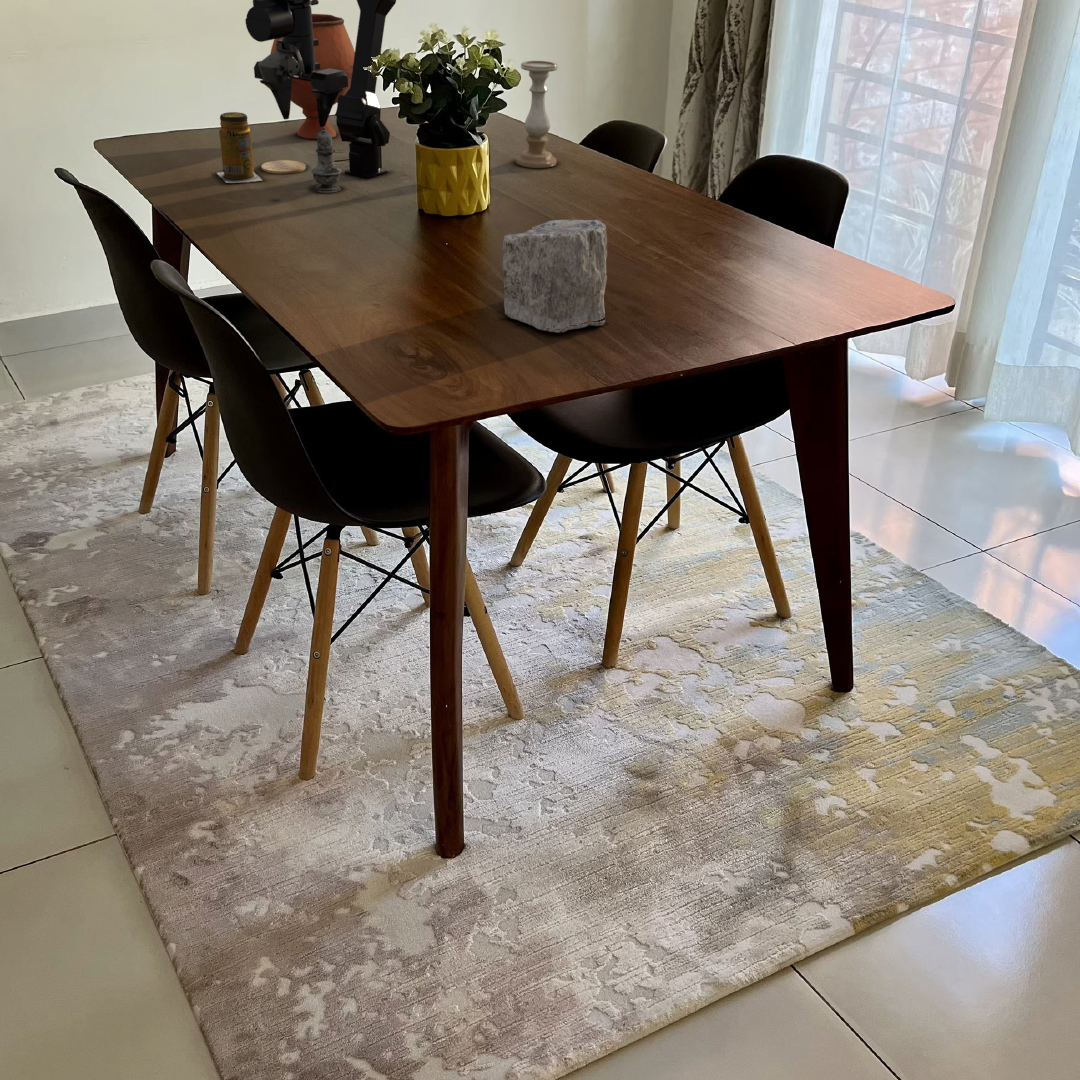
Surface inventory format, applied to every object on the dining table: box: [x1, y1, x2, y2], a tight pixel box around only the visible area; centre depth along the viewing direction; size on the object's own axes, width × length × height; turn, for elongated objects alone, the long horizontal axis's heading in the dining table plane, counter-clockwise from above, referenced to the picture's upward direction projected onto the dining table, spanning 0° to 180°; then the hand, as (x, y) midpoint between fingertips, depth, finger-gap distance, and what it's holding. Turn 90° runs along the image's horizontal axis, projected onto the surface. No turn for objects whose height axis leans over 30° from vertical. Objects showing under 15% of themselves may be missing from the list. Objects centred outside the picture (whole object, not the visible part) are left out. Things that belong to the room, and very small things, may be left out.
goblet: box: [269, 13, 355, 140], centre depth 264 cm, size 19×19×25 cm
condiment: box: [216, 111, 263, 184], centre depth 235 cm, size 7×8×12 cm
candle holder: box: [515, 60, 559, 169], centre depth 250 cm, size 9×9×20 cm
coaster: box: [260, 159, 307, 175], centre depth 245 cm, size 9×9×1 cm
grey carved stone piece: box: [310, 127, 343, 194], centre depth 230 cm, size 6×6×12 cm
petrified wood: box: [501, 219, 608, 333], centre depth 176 cm, size 19×17×15 cm
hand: (304, 122), depth 223 cm, fingers open, 9 cm apart
